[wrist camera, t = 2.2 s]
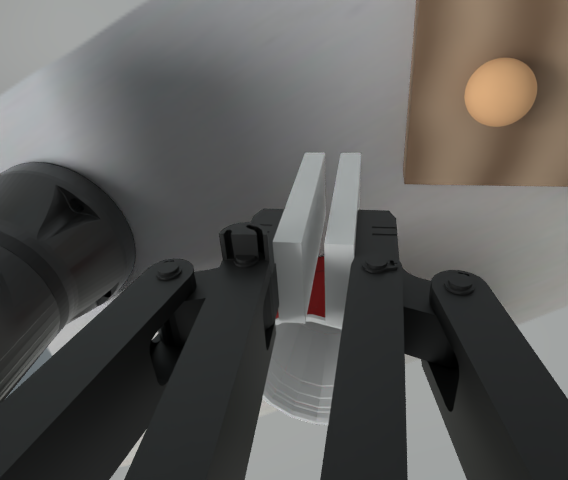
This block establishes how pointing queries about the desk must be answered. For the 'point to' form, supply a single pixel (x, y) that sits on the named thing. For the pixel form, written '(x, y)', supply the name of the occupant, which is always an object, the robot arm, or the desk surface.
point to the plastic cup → (305, 361)
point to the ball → (500, 92)
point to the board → (451, 89)
